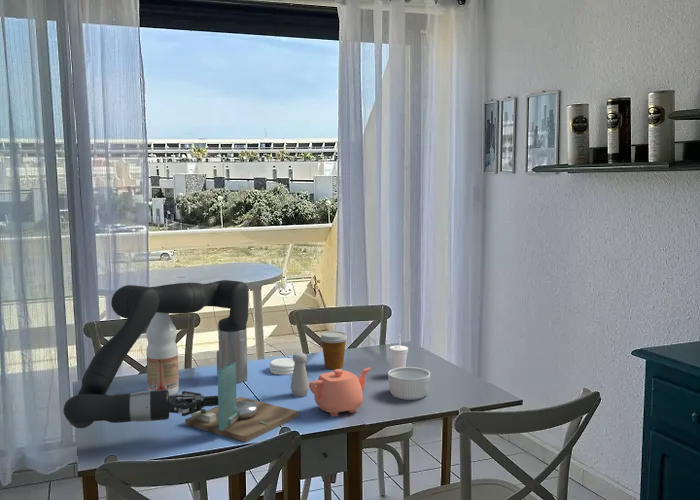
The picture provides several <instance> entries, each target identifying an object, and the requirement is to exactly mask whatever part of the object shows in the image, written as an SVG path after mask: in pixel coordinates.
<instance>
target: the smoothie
mask: <svg viewBox="0 0 700 500" xmlns="http://www.w3.org/2000/svg"><path fill="white" fill-rule="evenodd" d="M388 351H389V352H390V358H391V360H390V361H391V368H392V369H395V368H400V367H406V365H407V363H406V362H407V358H408V352H409V347H408V346H406V345H402V343H401V334H398V344H397V345H391V346H390V347H389V350H388ZM392 369H391V370H392Z"/></svg>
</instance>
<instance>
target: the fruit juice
mask: <svg viewBox="0 0 700 500" xmlns="http://www.w3.org/2000/svg"><path fill="white" fill-rule="evenodd" d="M177 333H178V332H177V328H176V326H175V324H174V323H173V321H172V318H171V315H170V314H169V313H158V312H156V314H155V315H154V317H153V318H152V320H151V321H150V323H149V324H148V326H147V328H146V331H145V334H146V340H147V346H146V353H145V356H146V377H147V379H146V380H147V391H156V390H168V391H169V396H174V395H177V394H178V393H179V389H180V385H179V384H180V383H179V381H180V380H179V379H180V378H179V352H178V351H179V350H178V345H177V343H176V338H177Z"/></svg>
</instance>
